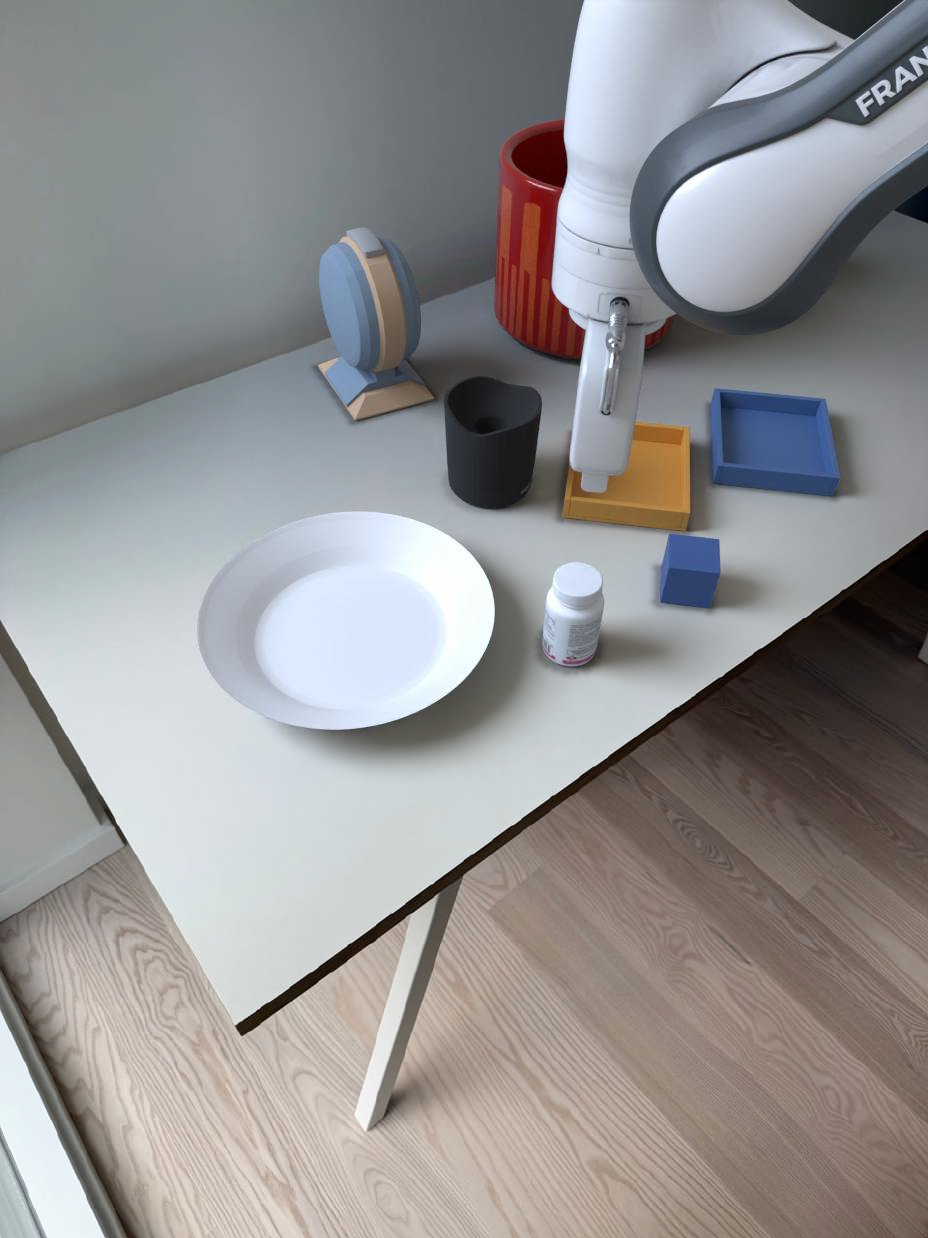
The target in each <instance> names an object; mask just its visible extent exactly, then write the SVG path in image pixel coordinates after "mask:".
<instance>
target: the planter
mask: <svg viewBox="0 0 928 1238" xmlns="http://www.w3.org/2000/svg"><path fill="white" fill-rule="evenodd" d="M564 124H565V118H560V119H553V120H547V121H544V122H540V123H536V124H533V125H530V126H527V127H525V128H522V129H520V130H518V131H516V132H515V133H513V134H512V135H510V136H508V137H507V139H506V140H505V141H504V142H503V144H502V145H501V148H500V150H499V162H498V165H499V166H498V167H499V168H498V186H497V187H498V188H497V210H496V211H497V212H496V214H497V216H496V237H495V238H496V239H495V241H496V242H495V243H496V244H495V266H494V267H495V269H494V270H495V271H494V272H495V273H494V294H493V295H494V299H493V300H494V301H493V312H494V315H495V318H496V320H497V322H498V323H499V325H500V327H501V328H502V329H503V330H504V331H505V332H506V333H507V334H508V335H509V336H510V337H512V338H513V339H515V340H516V341H517V342H519V343H521V344H523V345H524V346H526V347H528V348H530V349H531V350H535V351H538V352H539V353H542V354H546V355H550V356H553V357H558V358H563V359H568V360H576V361H581V358H582V352H583V345H584V339H585V333H586V330H585V329H583V328H581V327H580V326H579V325H578V324H576V323H575V322H574V321H573V319H572V318H571V316H570V314H569V308H568V307H566V306H565V305H563V304H562V303H561V302H560V301H559V300H558V299H557V297H556V296H555V294H554V292H553V289H552V272H553V260H554V250H555V237H556V225H557V212H558V204H559V200H560V197H561V194H562V191H563V189H564V186H565V183H566V178H567V172H568V159H567V153H566V147H565V142H564ZM675 318H676V314H675V315H673V316H670V317H668V318H667V319H666V322H665V323H664V325H663V326H662V327H661V328H660V329H658V330H656V331H655V332H653V333H651V334H648V335H645V349H644V351H647V350H648V349H650V348H652V347H654V346H655V345H657V344H658V343H660V342H661V341H662V340H663V339H664V338H666V336H667V335H668V333H669V332H670V331H671V330H672V327H673V324H674V322H675Z"/></svg>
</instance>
